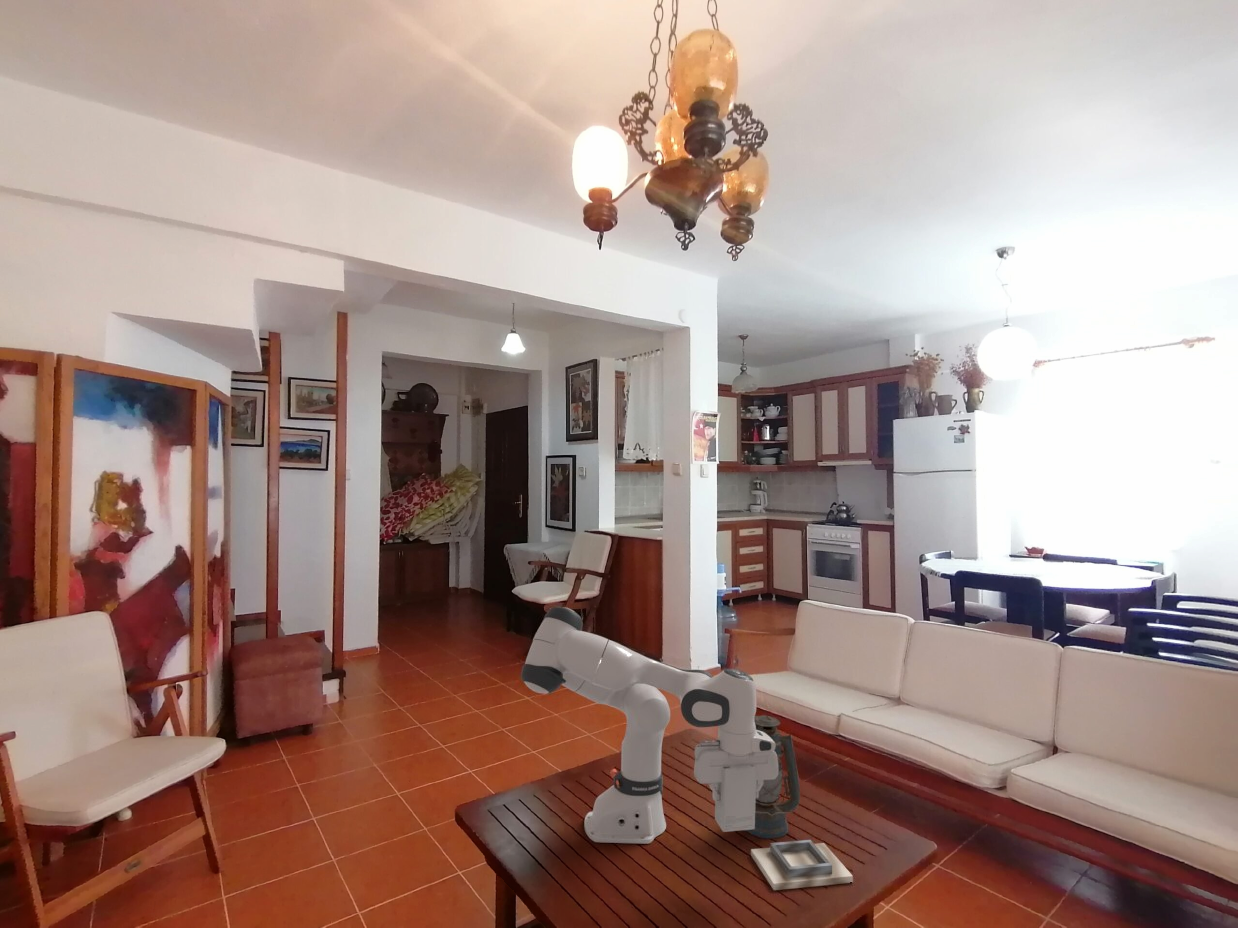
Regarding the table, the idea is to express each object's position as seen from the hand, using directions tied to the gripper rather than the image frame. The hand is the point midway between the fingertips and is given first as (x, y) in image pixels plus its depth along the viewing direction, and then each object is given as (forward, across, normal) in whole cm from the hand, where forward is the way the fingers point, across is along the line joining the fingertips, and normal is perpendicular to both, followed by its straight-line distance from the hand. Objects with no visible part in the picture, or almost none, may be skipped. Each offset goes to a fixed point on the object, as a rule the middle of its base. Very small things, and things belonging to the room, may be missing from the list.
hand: (735, 798), depth 149 cm
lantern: (+20, +17, +22) cm, 34 cm away
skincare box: (+6, 0, 0) cm, 7 cm away
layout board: (+19, +18, +3) cm, 27 cm away
